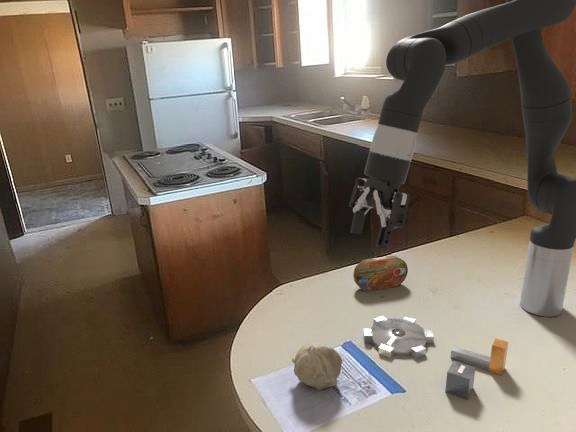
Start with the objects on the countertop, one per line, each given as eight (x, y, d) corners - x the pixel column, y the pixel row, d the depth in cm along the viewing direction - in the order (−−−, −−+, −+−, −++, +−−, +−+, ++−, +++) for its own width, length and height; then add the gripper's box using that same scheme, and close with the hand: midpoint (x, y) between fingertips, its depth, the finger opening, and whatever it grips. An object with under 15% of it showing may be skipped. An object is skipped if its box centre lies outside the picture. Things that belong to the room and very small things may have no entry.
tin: (356, 293, 129) (356, 264, 126) (351, 288, 132) (352, 259, 129) (407, 285, 132) (409, 256, 130) (401, 280, 135) (403, 252, 133)
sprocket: (381, 317, 117) (381, 309, 116) (440, 334, 109) (441, 326, 109) (353, 347, 105) (353, 338, 105) (417, 368, 98) (418, 359, 97)
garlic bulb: (339, 393, 95) (358, 355, 91) (309, 408, 89) (328, 368, 85) (308, 360, 100) (324, 323, 96) (278, 372, 95) (294, 333, 91)
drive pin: (453, 352, 102) (456, 327, 100) (504, 367, 97) (508, 341, 95) (449, 358, 100) (452, 333, 98) (501, 375, 94) (505, 348, 93)
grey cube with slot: (451, 382, 94) (453, 360, 92) (472, 390, 91) (475, 367, 90) (445, 394, 90) (447, 371, 89) (467, 402, 88) (469, 378, 87)
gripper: (433, 164, 82) (407, 254, 85) (384, 151, 95) (363, 230, 98) (398, 156, 79) (372, 251, 82) (352, 144, 91) (331, 226, 95)
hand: (367, 240), depth 90 cm, fingers open, 8 cm apart
